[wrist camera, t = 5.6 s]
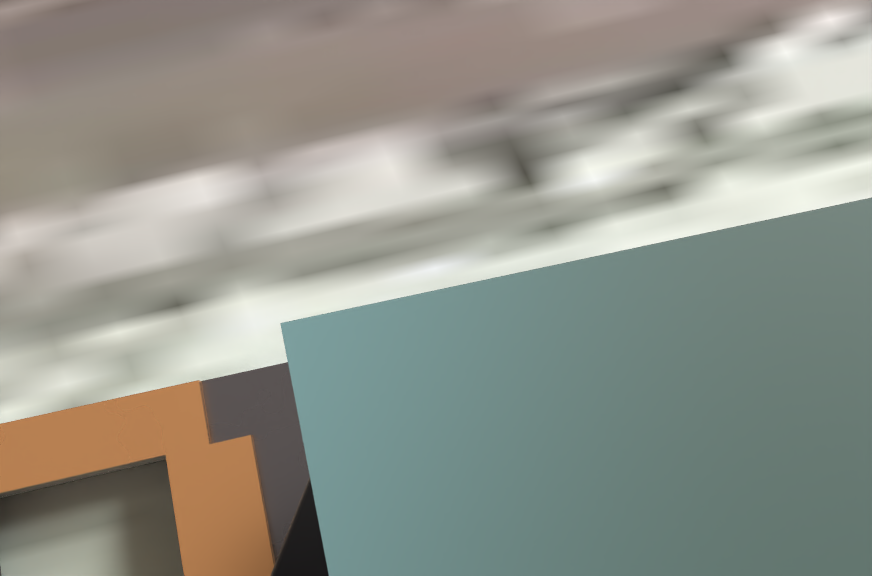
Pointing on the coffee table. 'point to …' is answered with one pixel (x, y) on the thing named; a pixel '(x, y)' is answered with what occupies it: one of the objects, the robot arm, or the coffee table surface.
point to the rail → (184, 461)
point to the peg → (606, 413)
